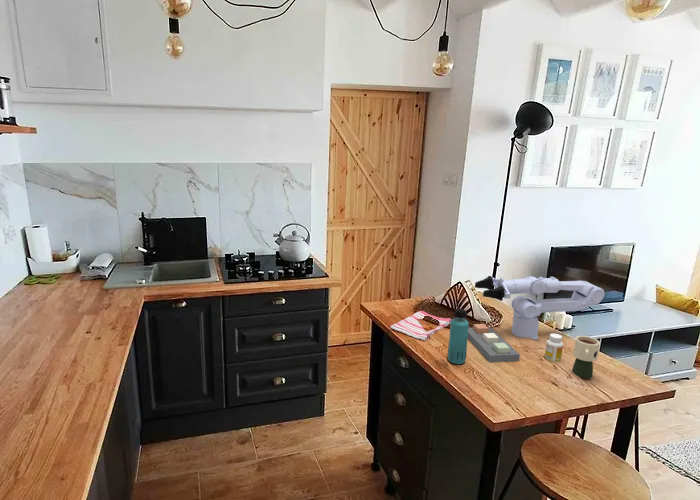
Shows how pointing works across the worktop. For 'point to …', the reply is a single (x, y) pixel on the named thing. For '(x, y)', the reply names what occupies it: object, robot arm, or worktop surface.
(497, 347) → the sage button
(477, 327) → the terracotta button
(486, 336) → the cream button
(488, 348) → the button console
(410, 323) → the dish towel
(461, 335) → the beverage bottle
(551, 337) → the supplement bottle
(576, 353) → the character mug
